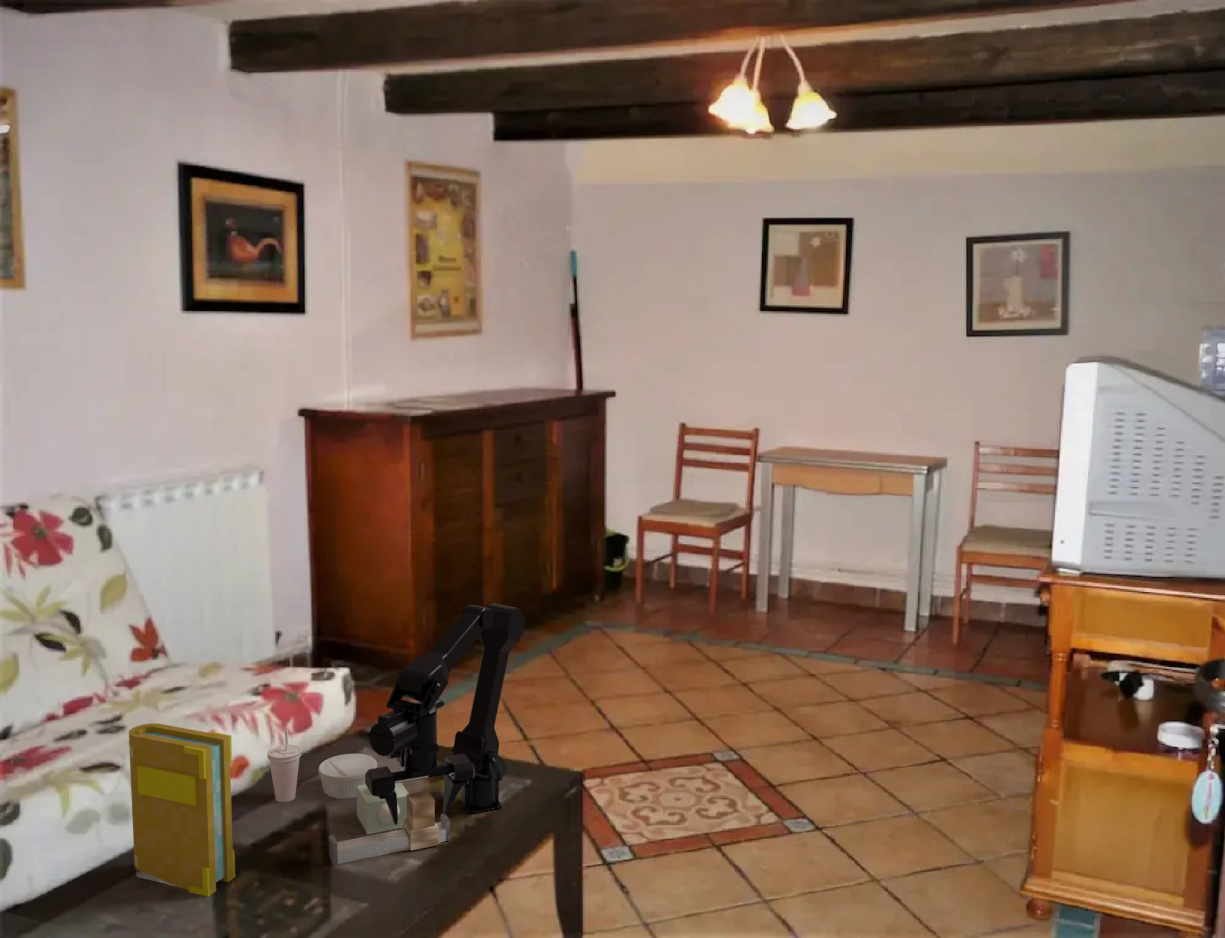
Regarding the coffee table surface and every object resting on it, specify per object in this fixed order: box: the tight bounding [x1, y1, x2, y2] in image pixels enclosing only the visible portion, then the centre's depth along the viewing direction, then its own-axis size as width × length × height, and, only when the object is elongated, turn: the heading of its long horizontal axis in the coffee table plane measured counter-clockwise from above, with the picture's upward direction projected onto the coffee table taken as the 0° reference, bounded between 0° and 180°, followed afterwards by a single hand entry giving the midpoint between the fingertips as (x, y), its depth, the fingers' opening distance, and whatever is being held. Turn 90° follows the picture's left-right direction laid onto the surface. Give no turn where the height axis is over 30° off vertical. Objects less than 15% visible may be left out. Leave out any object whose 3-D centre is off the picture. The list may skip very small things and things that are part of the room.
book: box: [128, 723, 236, 898], centre depth 178 cm, size 17×7×25 cm, turn 71°
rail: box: [328, 813, 451, 866], centre depth 191 cm, size 21×3×4 cm, turn 116°
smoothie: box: [267, 728, 302, 803], centre depth 209 cm, size 6×6×14 cm
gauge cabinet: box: [356, 782, 410, 835], centre depth 201 cm, size 8×8×6 cm
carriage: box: [402, 790, 439, 851], centre depth 193 cm, size 5×5×8 cm
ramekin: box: [318, 753, 378, 800], centre depth 214 cm, size 11×11×5 cm
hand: (420, 818), depth 193 cm, fingers open, 9 cm apart
